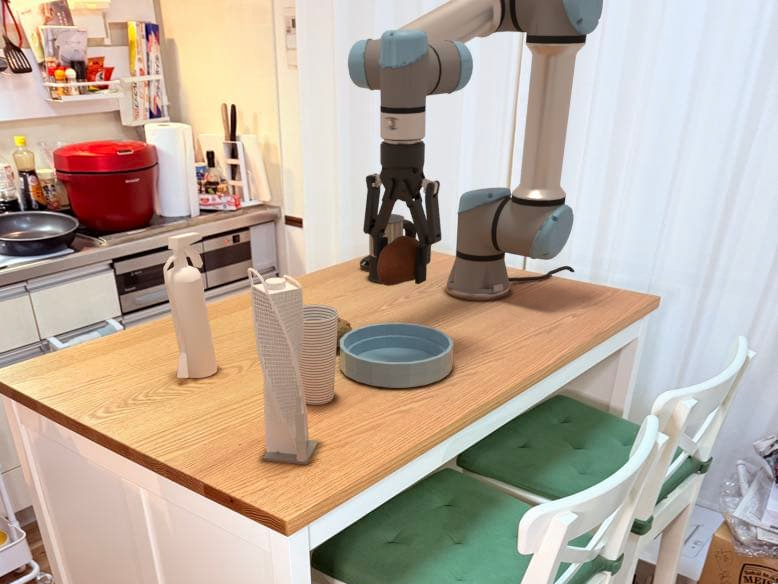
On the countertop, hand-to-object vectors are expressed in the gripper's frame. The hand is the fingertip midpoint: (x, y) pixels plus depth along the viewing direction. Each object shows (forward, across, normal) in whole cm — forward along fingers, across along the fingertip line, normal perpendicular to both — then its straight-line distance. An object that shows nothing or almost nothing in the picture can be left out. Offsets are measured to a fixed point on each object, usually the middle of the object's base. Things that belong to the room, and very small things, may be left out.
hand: (401, 278), depth 142 cm
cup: (+16, -4, -22) cm, 28 cm away
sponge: (+17, -22, -2) cm, 27 cm away
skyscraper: (+16, +4, -40) cm, 44 cm away
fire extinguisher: (+16, -30, -26) cm, 43 cm away
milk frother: (+17, -36, +48) cm, 62 cm away
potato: (+1, 0, 0) cm, 1 cm away
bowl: (+16, 0, -2) cm, 17 cm away
